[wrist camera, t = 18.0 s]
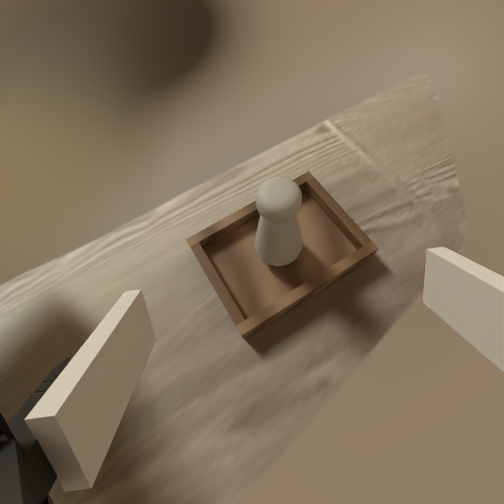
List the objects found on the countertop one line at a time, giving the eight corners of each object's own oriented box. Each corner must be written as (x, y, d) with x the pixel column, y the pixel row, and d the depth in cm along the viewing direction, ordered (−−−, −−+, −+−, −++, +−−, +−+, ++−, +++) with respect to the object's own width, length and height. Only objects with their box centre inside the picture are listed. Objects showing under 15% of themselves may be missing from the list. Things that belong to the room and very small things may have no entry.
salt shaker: (306, 238, 38) (319, 173, 26) (294, 277, 36) (302, 226, 24) (263, 227, 39) (258, 159, 28) (249, 264, 37) (237, 209, 25)
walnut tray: (244, 339, 35) (241, 335, 32) (192, 249, 40) (185, 239, 37) (370, 258, 37) (378, 248, 35) (306, 184, 43) (308, 171, 40)
